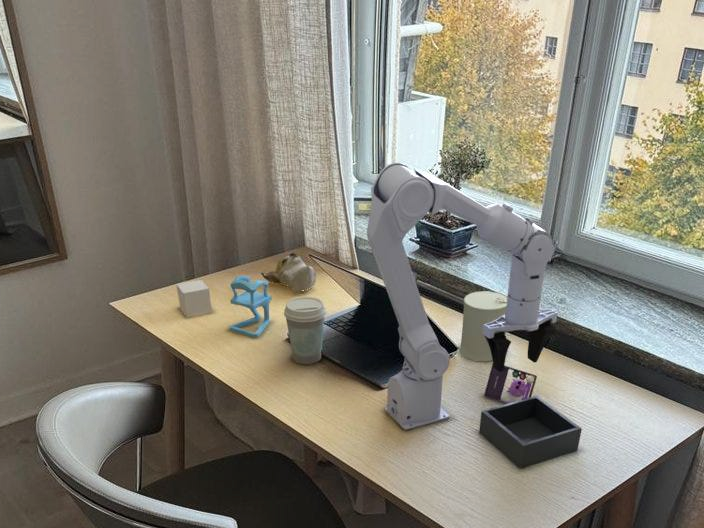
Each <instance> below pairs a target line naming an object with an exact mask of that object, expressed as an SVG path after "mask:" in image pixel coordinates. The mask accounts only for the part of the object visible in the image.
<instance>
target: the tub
mask: <svg viewBox="0 0 704 528" xmlns="http://www.w3.org/2000/svg"><path fill="white" fill-rule="evenodd" d="M480 411H481V412H480V421H479V430H478V433H479V434H480V435H481V436H482V437H483V438H485V440H486V441H488V442H489V443H490V444H491V445H492V446H494V447H495V448H496V449H497V450H498V451H499V452H500V453H502V454H503V455H504V456H505V457H506V458H507V459H508V460H509V461H510V462H512V463H513V464H514V465H516V467H517V468H518V469H524V468H528V467H531V466H534V465H537V464H540V463H544V462H547V461H550V460H553V459H557V458H559V457H562V456H566V455H569V454H572V453H575V452H578V450H579V446H580V440H581V435H582V427H580V426H579V425H578V424H576V423H575V422H574V421H572V420H571V419H570V418H568V417H567V416H566V415H564V414H563V413H562V412H560V411H559V410H558V409H556V408H555V407H554V406H552V405H551V404H550V403H548V402H547V401H545V400H544V399H543V398H542V397H540V396H538V395H534V396H531V397H530V398H529V397H527V398H526V399H522V398H521V399H519V400H515V401H512V402H510V403H508V404H505V403H503V404H501V405H498V406H494V407H490V408H487V409H483V410H480Z"/></svg>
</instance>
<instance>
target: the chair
mask: <svg viewBox="0 0 704 528" xmlns="http://www.w3.org/2000/svg"><path fill="white" fill-rule="evenodd" d="M250 281H251V275H248V276H245V275H239V276H236V277H235V278H234V279H232V281H231V282H230V284H229V285H230V288H231V291H232V292H233V298H231V299H230V300H229V301H230V304H231V305H235V306H241V307H245V308H247V309H249V310H250V312H251V313H252V314H253V316H254V317H252V318H249V319H245V320H242V321H240V322H236V323H233V324H231V325H229V326H228V330H229V331H230V332H232V333H236V334H240V335H243V336H246V337H249V338H252V339H253V338H254V339H257V338H259V337H260V336H261V334H262V333H263V331H265V329H266V327H267V326H268V325H269V324H270V323H271V319H270V303H271V301H272V300H273V299H272V295H270V294H268V288H269V283H270V282H269V281H268V280H261V279H257V280H254V281H252V282H250ZM263 286H264V287H263ZM261 287H263V292H262V293H261V292H257V290H258V289H260V288H261ZM237 290H242V291H244V292H242V293H241V294H238V291H237ZM260 307H262V309H263V320H262V316H261V314H260V313H259V311H258V310H257V308H260ZM260 321H262V322H261V323H260V325H259V327H258V328H257V330H256V331H255V332H253V331H250V330H246V329H243V327H246V326H250V325H252V324H255V323H259V322H260Z"/></svg>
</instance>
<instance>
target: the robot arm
mask: <svg viewBox="0 0 704 528" xmlns="http://www.w3.org/2000/svg"><path fill="white" fill-rule="evenodd" d="M413 170H414V171H413ZM413 170H412V169H411V168H410V167H409V166H408V165H407V164H404V163H402V162H392V163H390V164H388V165H386V166H384V168H383V169H382V170H381V171H380V172H379V173H378V175H377V177H376V179H375V180H374V182H373V184H372V185H371V187H370V194H371V204H370V210H369V217H368V222H367V228H366V237H367V240H368V244H369V246H370V249H371V252H372V254H373V256H374V260H375V262H376V266H377V268H378V270H379V273H380V277H381V280H382V281H383V284H384V287H385V290H386V293H387V295H388V298H389V301H390V304H391V307H392V309H393V312H394V314H395V318H396V320H397V323H398V327H397V332H398V335H399V341H398V349H399V352H400V354H401V355H402V356H403V357H404V361H403V364H402V369H401V370H400V371H399V372H398V373H397V374H395V375H393V376H391V377H389V379H388V381H387V393H386V394H387V395H386V396H387V399H386V407H385V408H384V410H385V412H386V413H387V414H388V415H389V416H390V417H391V418H392V419H393V420H394V421H395V422H396V423H397V425H399V426H400V427H401V428H402V429H403V430H406V431H407V430H412V429H416V428H418V427H422V426H426V425H430V424H433V423H436V422H441V421H444V420H448V419H450V414H449V413H448V412H446V410H444V408H442V394H443V393H442V391H443V381H444V380H443V379H444V374H445V373H446V372H447V370H448V369H449V366H450V362H451V359H450V355H449V352H448V351H447V350H446V349H445V348H444V347H443V346H442V345H441V344H440V342H439V339H438V337H437V335H436V333H435V331H434V328H433V327H432V325H431V324H430V321H429V319H428V315H427V313H426V309H425V306H424V304H423V300H422V297H421V295H420V291H419V287H418V285H417V283H416V282H417V281H416V280H415V276H414V273H413V270H412V268H411V267H412V266H411V264H410V261H409V258H408V255H407V252H406V249H405V246H404V243H403V240H404V238H405V237H406V235H407V234H408V233H409V232H410V231H411V230H412V229H413V228H414V227H415V226H416V225H417V224H418V223H419V222H420V221H421V220H422V219H423V218H424V217H425V216H426V215H427V214H428V213H429V214H431V215H435V214H437V213H439V212H440V211H441V210H445V211H446V212H448V213H450V214H453V215H454V216H456V217H458V218H460V219H463V220H465V221H466V222H469V223H471V224H473V225H475V227H476V231H477V235H478V236H479V238H481V239H483V240H485V241H487V242H489V243H490V244H493V245H495V246H497V247H498V248H500V249H502V250H503V251H506V252H507V253H511V263H510V271H509V280H508V288H507V296H506V297H507V304H506V313H505V315H504V316H502V317H500V318H498V319H496V320H494V321H492V322H490V323H487V324H484V329H483V335H484V336H485V338H486V340H487V342H488V344H489V347H490V350H491V354H492V359H493V361H492V364H493V366H494V368H495V369H496V370H498V371H499V372H501V371H503V369H504V365H505V366H506V357H507V353H508V350H509V347H510V345H511V343H512V341H511V340H510V339H508V338H507V335H506V333H509V332H515V331H528V343H527V359H528V360H530V361H531V362H532V363H537V362H538V361H539V358H540V356H541V355H542V352H543V349H544V347H545V346H546V344H547V343H548V341H549V340H550V338H551V337H552V336H553V335H554V333H555V331H556V326H555V325H553V324H555V323H557V319H558V312H557V311H556V310H554V309H552V308H547V309H540V305H541V299H542V293H543V285H544V277H545V271H547V270H546V269H547V264H548V262H549V261H550V260H551V259H552V257H553V255H554V254H555V251H556V246H554V240H553V238H552V235H551V234H550V233H549V232H547V230H544V229H543V228H542V227H540V226H538V225H537V224H536V223H535V221H534V220H533V219H531V218H530V217H529V216H527V217H525V218H524V217H522V216H521V215H519V214H517V213H515V212H513V211H514V207H513V206H511V205H509V204H508V203H506V202H504V203H503V204H500V203H492V204H490V205H487V206H486V205H483V204H482V203H480V202H479V201H476V200H475V199H474V198H472V197H470V196H468V195H467V194H465V193H463V192H462V191H461V190H458V189H457V188H455V187H454V186H453V185H450V184H449V183H447V182H445V181H444V180H443V179H440V178H438V177H436V176H433V175H431V174H428V173H427V172H425V171H423V170H419V169H416V168H414V169H413Z"/></svg>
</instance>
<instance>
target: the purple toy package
mask: <svg viewBox="0 0 704 528" xmlns="http://www.w3.org/2000/svg"><path fill="white" fill-rule="evenodd" d="M509 370H511V371H512V372H511V375H512V378H515V379H512V382H511V381H510V382H511V384H510V385H509V387H508V388H507V390H506V392H507V393H509V394H510V396H512V397H515V398H520V397H521V400H522V399H526V398H530V397H533V396H532V395H533V392H534V388H535V385H536V382H537V379H538V375H535V374H533V373H530V372H526V371H524V370H520V369H519V368H514V367H512V366H507V365H506V364H505V365H504V369H503V371H501V372H499V371H498V370H496V369H495V368H494V366H493V363H492V364H491V368H490V372H489V375H488V379H487V382H486V386H485V390H484V394H483V396H484V397H485V398H487V399H490V400H494V401H496V402H499V403H503V404H508V403H511V402H510V401H506V400H504V399H502V396H503V392H504V388H505V384H506V381H507V377H508V374H509Z"/></svg>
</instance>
